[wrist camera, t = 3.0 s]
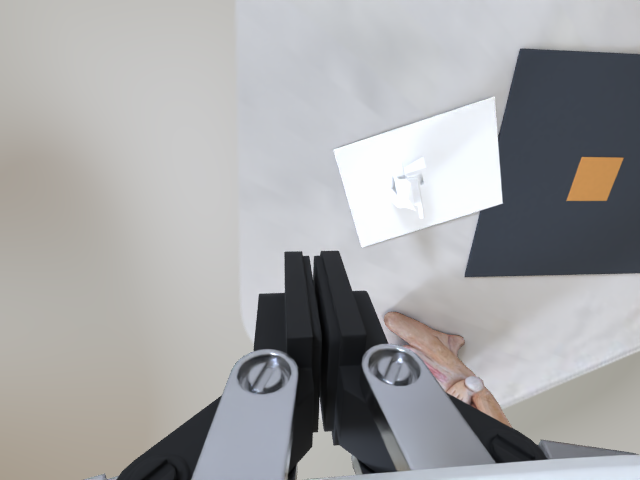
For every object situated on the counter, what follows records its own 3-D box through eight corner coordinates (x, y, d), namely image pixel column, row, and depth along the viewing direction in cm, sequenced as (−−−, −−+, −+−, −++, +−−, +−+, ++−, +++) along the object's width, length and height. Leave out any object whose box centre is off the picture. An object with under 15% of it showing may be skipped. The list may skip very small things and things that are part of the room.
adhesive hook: (381, 165, 22) (395, 178, 19) (421, 151, 22) (441, 163, 19) (391, 208, 23) (405, 227, 21) (429, 195, 23) (448, 213, 20)
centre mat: (520, 48, 20) (521, 48, 20) (750, 59, 22) (753, 59, 21) (464, 276, 26) (465, 277, 26) (645, 272, 28) (646, 273, 28)
